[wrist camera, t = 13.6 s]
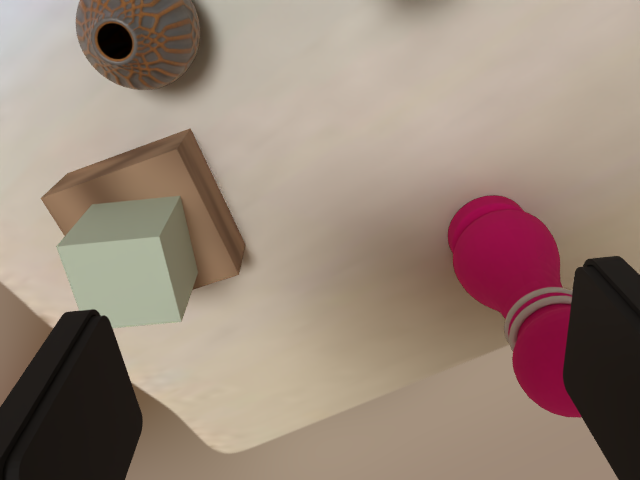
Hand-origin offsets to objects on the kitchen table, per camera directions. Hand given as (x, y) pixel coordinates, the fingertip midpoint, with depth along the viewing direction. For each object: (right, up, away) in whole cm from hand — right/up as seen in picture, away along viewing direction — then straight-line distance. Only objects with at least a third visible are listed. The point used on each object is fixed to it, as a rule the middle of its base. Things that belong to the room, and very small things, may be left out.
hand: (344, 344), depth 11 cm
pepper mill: (+13, +3, +33) cm, 36 cm away
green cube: (-13, +2, +27) cm, 30 cm away
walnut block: (-13, +5, +32) cm, 35 cm away
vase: (-11, +17, +25) cm, 32 cm away
